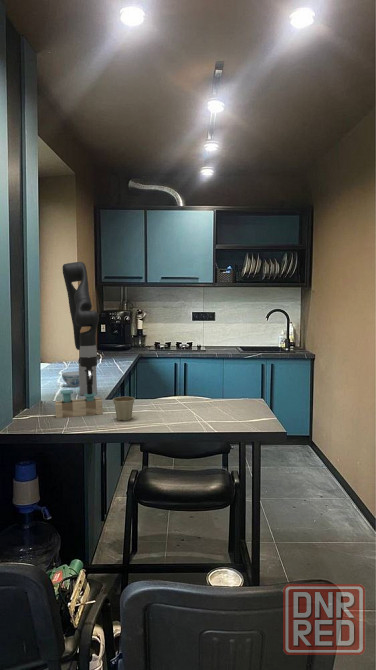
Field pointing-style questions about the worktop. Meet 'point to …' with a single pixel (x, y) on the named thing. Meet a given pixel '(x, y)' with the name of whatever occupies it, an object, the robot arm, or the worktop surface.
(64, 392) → the teal peg
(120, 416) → the flower pot
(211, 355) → the worktop surface
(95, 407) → the oak block
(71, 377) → the chinaware
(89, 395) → the teal peg
